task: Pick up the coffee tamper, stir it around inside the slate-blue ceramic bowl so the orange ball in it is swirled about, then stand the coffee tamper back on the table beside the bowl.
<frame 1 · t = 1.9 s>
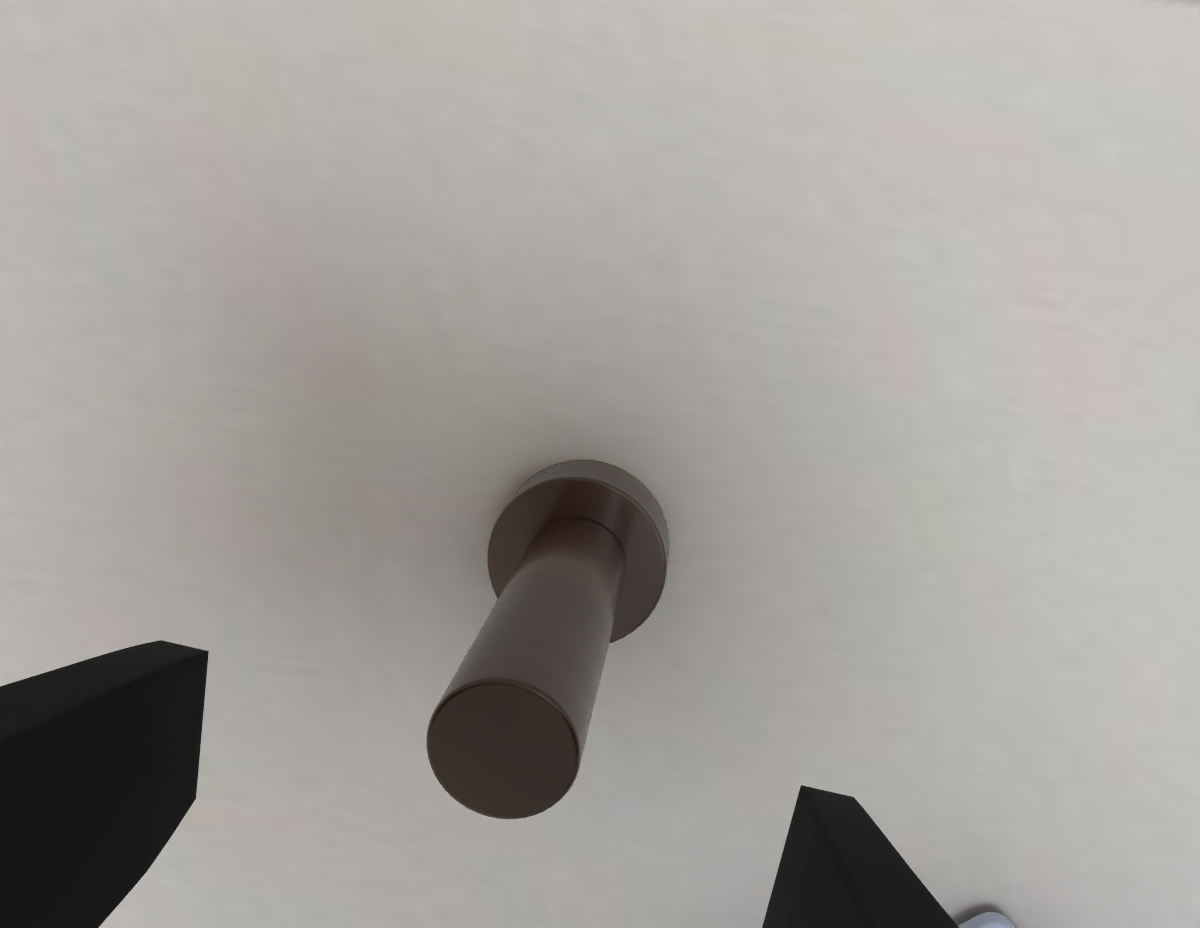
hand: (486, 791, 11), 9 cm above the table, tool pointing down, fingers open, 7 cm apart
coffee tamper: (585, 541, 20), on the table
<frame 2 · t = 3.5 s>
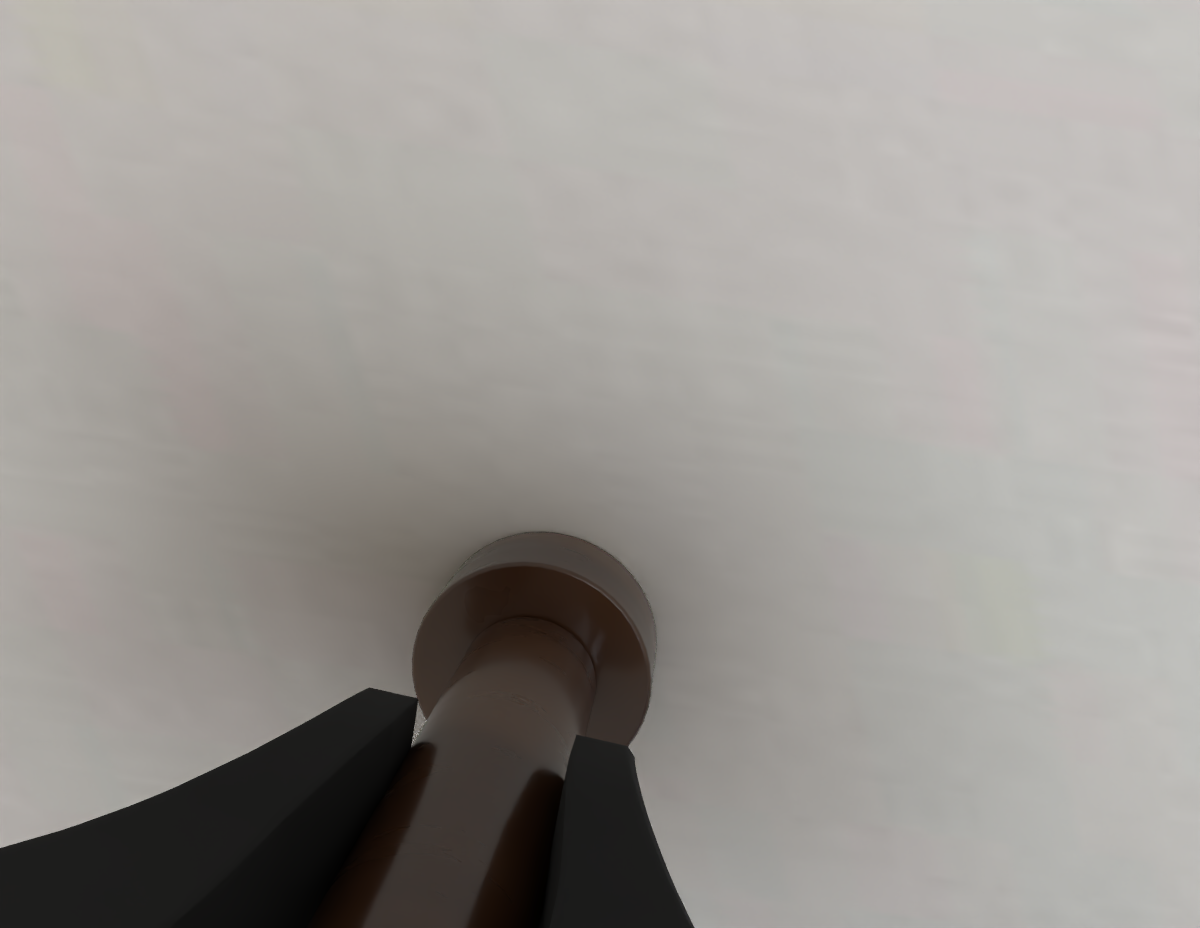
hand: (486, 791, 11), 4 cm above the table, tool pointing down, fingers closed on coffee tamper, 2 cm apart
coffee tamper: (546, 636, 15), on the table, touching gripper
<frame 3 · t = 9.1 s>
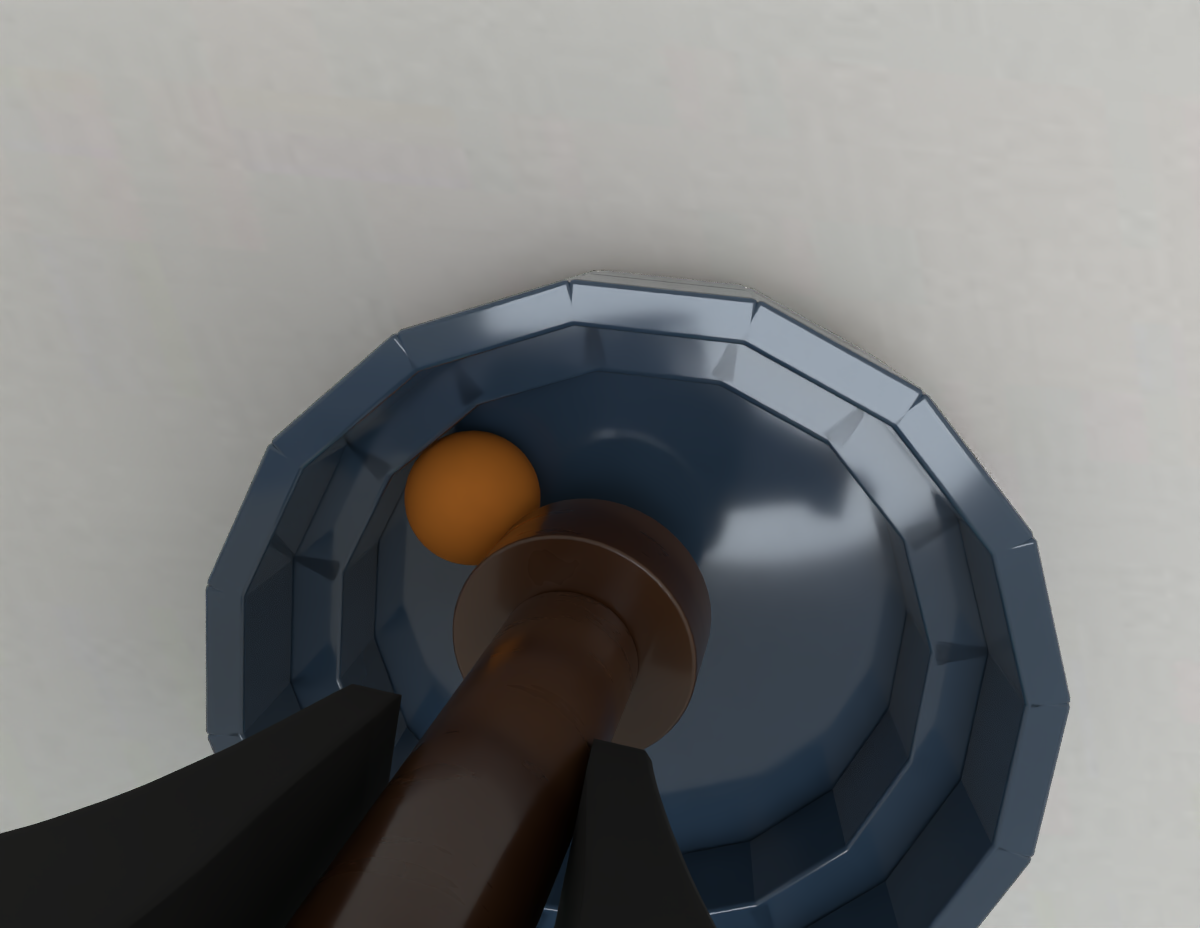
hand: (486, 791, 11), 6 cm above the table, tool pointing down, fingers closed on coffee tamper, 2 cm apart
ball: (473, 497, 15), point 2 cm above the table, tilted 25°, touching bowl, coffee tamper
bowl: (633, 612, 17), on the table
coffee tamper: (596, 605, 15), point 2 cm above the table, tilted 10°, touching ball, gripper
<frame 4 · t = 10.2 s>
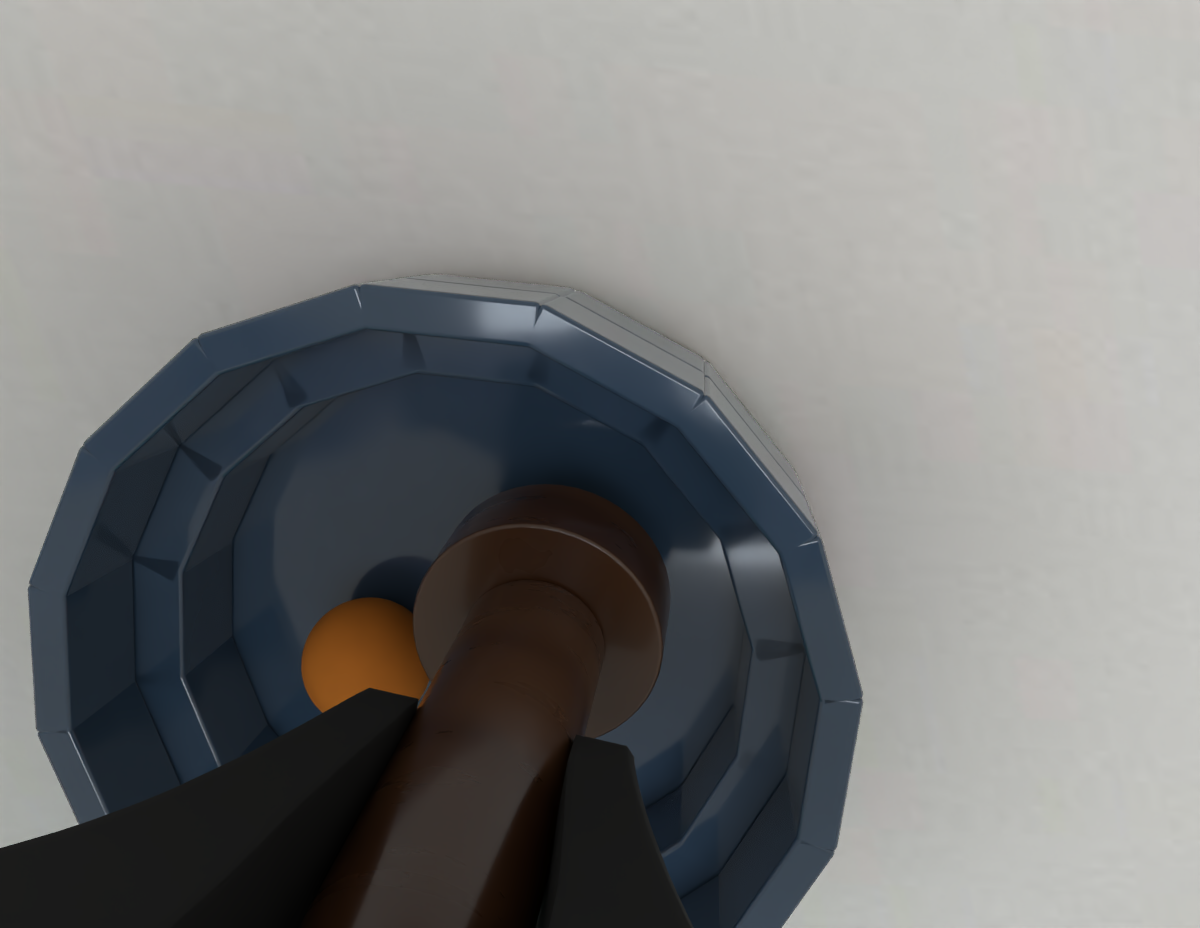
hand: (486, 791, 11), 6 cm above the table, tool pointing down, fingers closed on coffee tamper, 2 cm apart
ball: (368, 661, 16), point 2 cm above the table, tilted 130°, touching bowl
bowl: (487, 611, 18), on the table
coffee tamper: (554, 590, 15), point 2 cm above the table, tilted 8°, touching gripper
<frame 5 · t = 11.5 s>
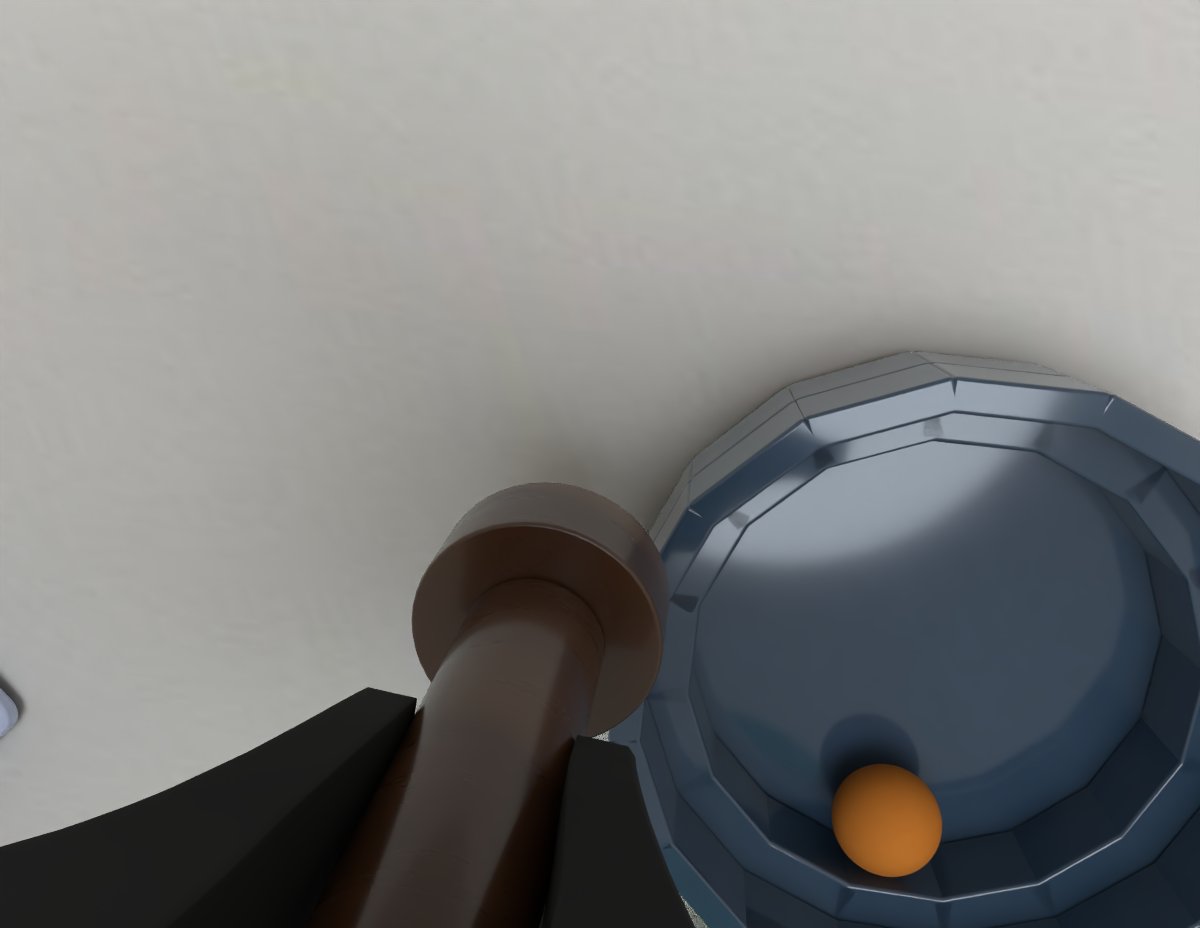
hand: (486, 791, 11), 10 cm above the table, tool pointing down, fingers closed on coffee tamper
ball: (885, 819, 20), point 2 cm above the table, tilted 59°, touching bowl
bowl: (913, 635, 20), on the table
coffee tamper: (553, 588, 15), point 6 cm above the table, tilted 7°, touching gripper
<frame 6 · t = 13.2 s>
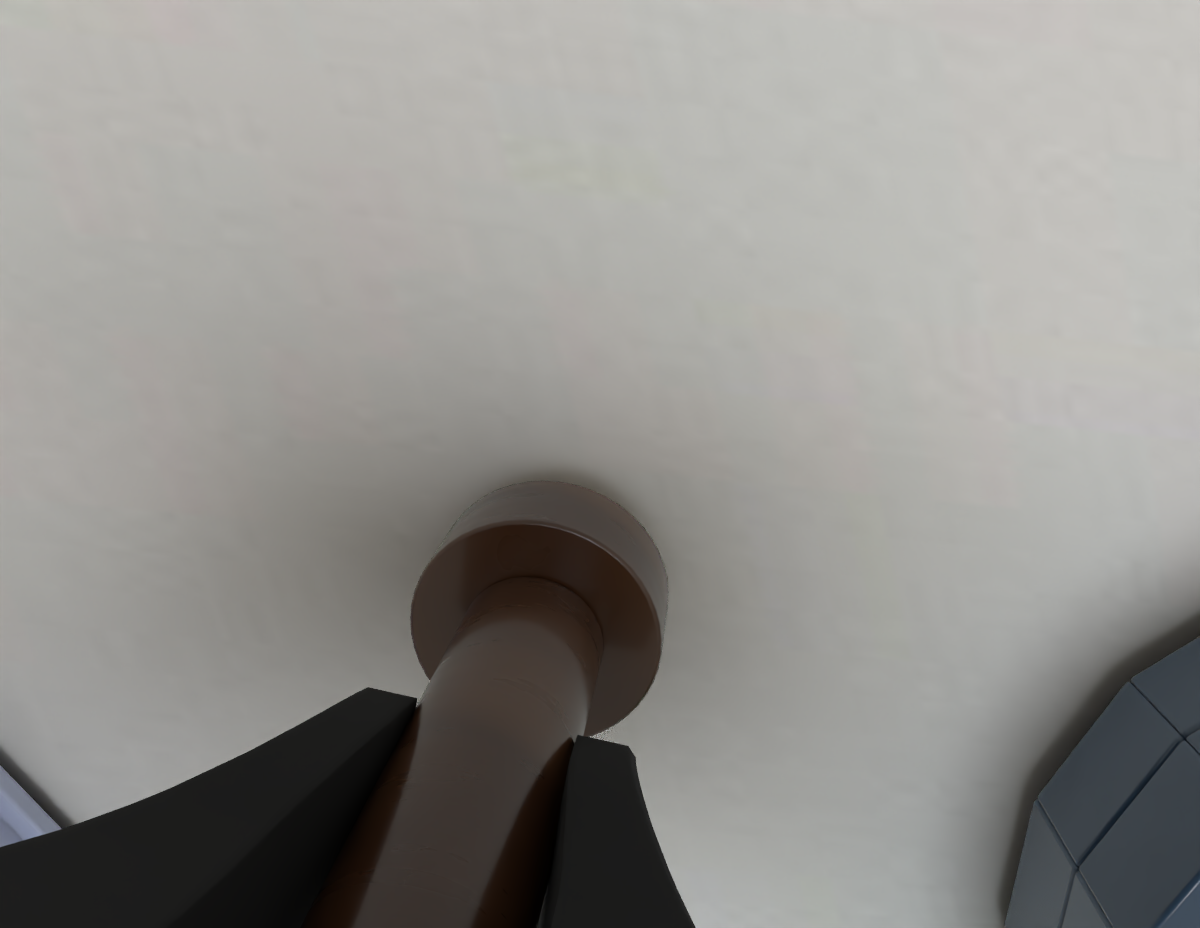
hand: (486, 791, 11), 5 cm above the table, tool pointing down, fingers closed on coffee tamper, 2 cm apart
coffee tamper: (552, 587, 15), point 1 cm above the table, tilted 8°, touching gripper
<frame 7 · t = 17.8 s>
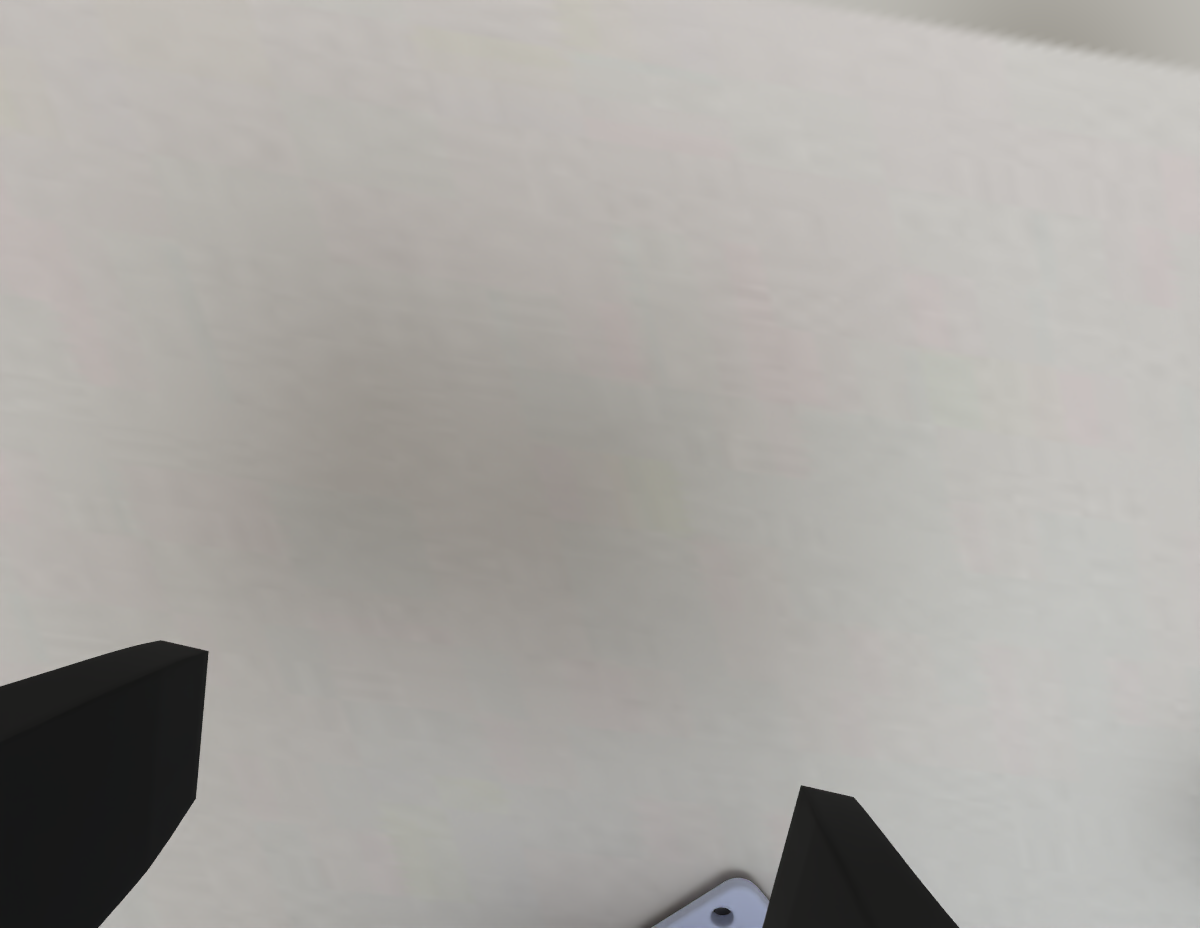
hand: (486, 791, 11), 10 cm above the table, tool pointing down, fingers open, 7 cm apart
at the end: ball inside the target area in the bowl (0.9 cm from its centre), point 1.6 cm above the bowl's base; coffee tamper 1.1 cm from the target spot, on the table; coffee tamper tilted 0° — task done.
